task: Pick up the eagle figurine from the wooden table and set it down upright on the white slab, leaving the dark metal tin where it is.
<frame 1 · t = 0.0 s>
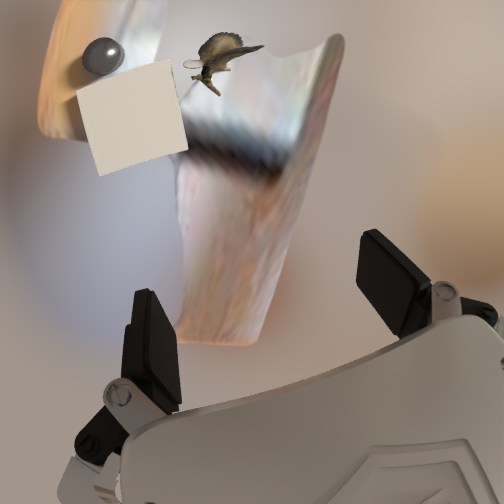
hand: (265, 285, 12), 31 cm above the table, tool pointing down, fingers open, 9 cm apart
eagle figurine: (219, 60, 31), on the table
white slab: (133, 115, 32), on the table
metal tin: (107, 58, 26), on the table
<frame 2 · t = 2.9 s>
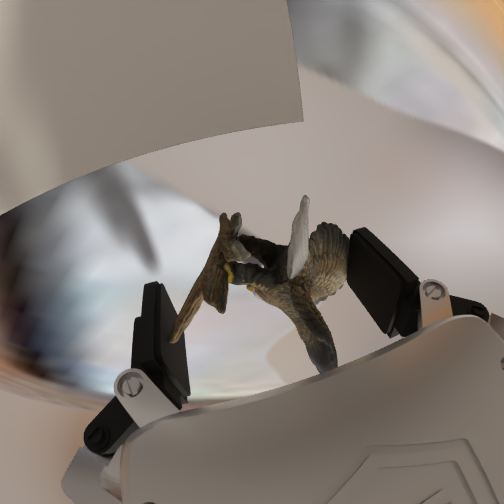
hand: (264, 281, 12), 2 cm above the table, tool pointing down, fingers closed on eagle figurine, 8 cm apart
eagle figurine: (278, 259, 14), on the table, touching gripper
white slab: (82, 9, 5), on the table
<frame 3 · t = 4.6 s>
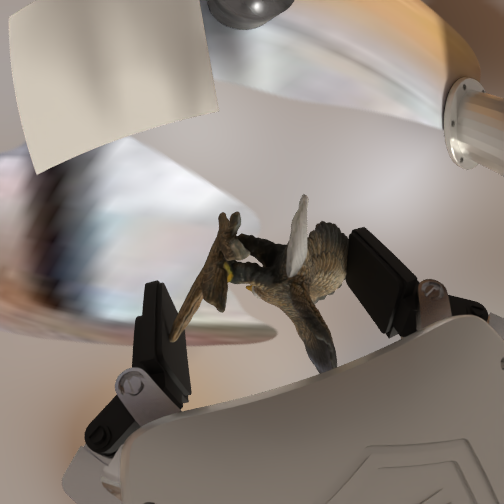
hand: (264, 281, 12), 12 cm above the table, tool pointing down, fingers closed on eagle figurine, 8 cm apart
eagle figurine: (277, 258, 14), point 9 cm above the table, touching gripper
white slab: (108, 53, 13), on the table
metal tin: (242, 2, 13), on the table
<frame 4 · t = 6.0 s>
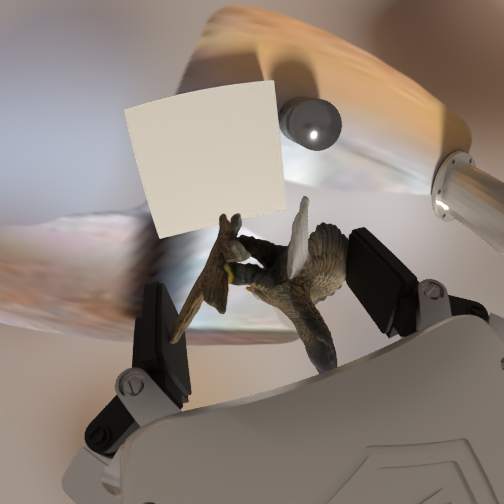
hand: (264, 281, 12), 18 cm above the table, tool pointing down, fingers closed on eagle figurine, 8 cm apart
eagle figurine: (277, 259, 14), point 16 cm above the table, touching gripper
white slab: (208, 153, 26), on the table
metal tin: (301, 119, 26), on the table
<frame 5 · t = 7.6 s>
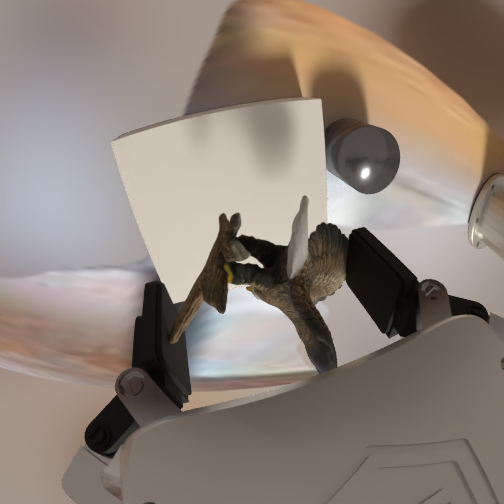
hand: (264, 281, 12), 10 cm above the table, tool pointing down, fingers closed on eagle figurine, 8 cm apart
eagle figurine: (277, 259, 14), point 8 cm above the table, touching gripper
white slab: (229, 193, 20), on the table
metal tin: (346, 148, 20), on the table
when the fingers open (6 cm above the table, at t = 9.1 s): eagle figurine stays where it is, resting on white slab.
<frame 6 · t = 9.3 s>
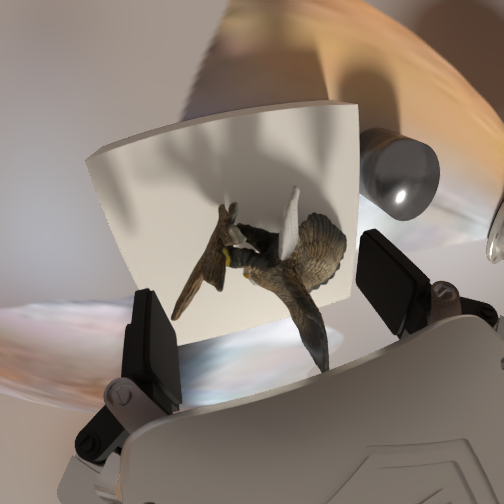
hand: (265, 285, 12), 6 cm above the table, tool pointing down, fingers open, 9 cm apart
eagle figurine: (273, 248, 15), point 3 cm above the table, touching white slab
white slab: (238, 218, 17), on the table
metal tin: (375, 162, 17), on the table
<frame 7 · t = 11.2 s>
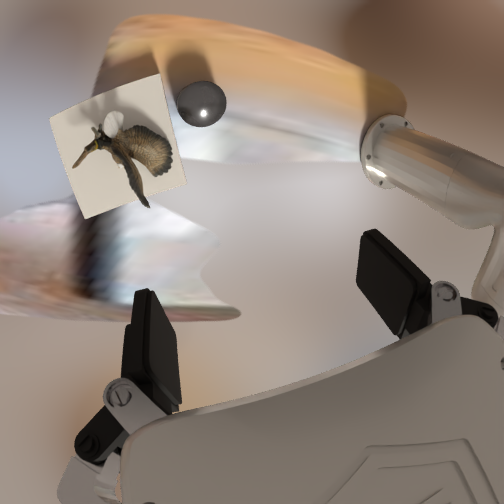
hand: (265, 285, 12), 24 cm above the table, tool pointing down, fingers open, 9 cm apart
eagle figurine: (131, 151, 26), point 3 cm above the table, touching white slab
white slab: (119, 143, 27), on the table
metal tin: (198, 103, 28), on the table
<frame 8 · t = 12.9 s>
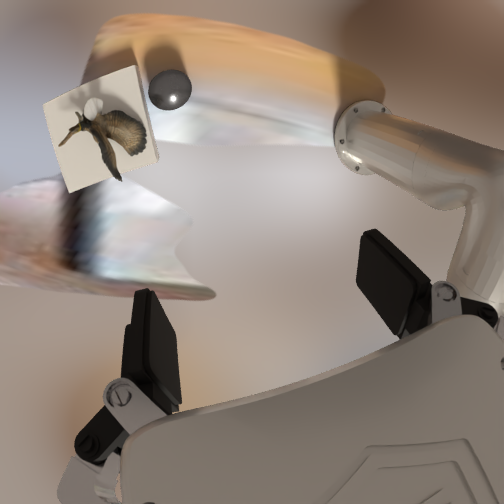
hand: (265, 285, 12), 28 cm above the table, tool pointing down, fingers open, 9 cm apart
eagle figurine: (111, 133, 28), point 3 cm above the table, touching white slab
white slab: (102, 127, 29), on the table
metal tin: (171, 90, 29), on the table
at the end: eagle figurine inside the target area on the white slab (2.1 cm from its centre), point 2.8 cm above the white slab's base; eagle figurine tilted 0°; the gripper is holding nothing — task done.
